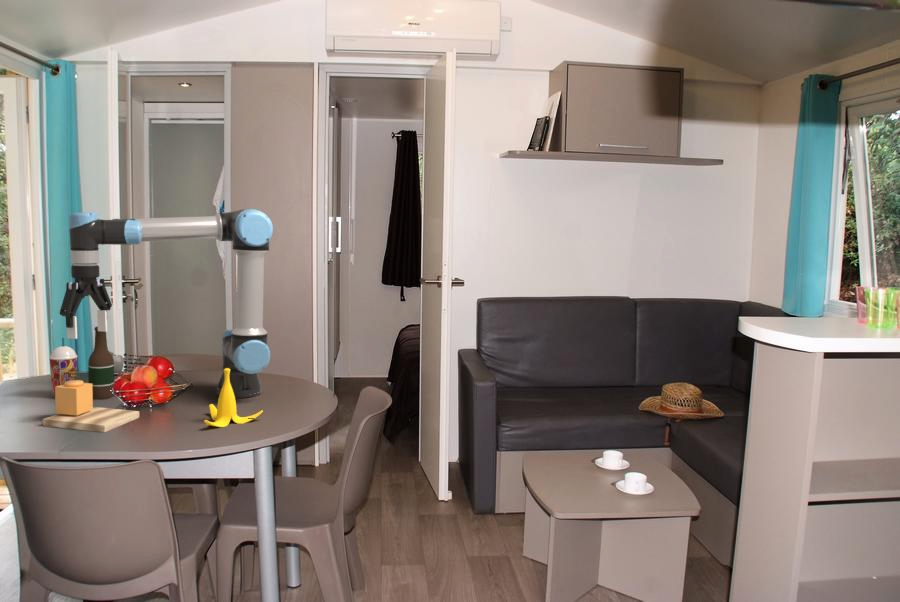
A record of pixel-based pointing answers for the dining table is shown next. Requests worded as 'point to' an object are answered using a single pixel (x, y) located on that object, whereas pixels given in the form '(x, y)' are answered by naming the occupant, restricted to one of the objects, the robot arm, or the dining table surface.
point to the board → (93, 419)
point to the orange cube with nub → (73, 397)
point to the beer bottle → (101, 368)
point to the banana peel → (226, 406)
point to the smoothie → (63, 365)
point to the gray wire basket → (123, 362)
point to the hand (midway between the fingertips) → (87, 334)
